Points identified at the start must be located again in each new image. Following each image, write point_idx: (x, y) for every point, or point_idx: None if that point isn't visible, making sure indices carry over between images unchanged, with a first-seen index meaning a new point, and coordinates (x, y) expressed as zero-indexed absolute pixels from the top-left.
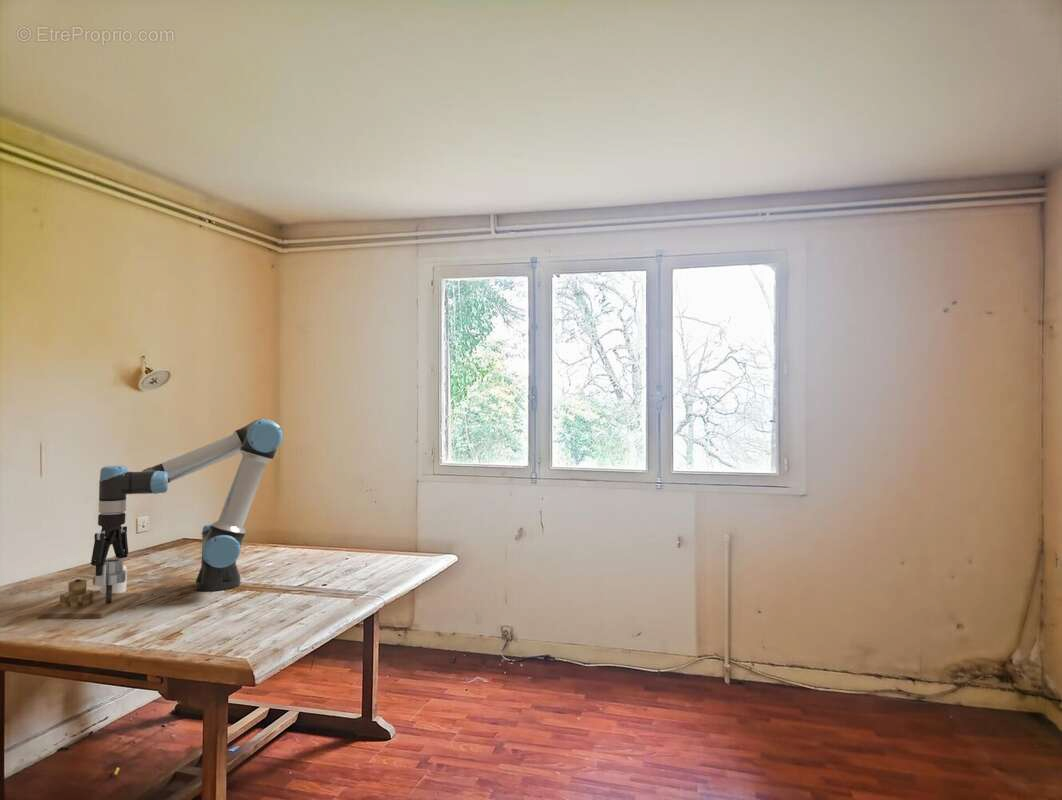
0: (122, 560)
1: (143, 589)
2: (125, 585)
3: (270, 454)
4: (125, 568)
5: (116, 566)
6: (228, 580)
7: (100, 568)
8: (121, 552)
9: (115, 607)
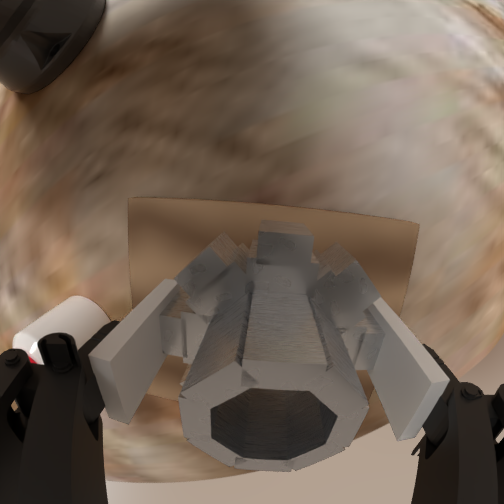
0: (116, 347)
1: (54, 245)
2: (65, 303)
3: None
4: (27, 333)
5: (306, 325)
6: None
7: (455, 377)
8: (75, 420)
9: (333, 212)
